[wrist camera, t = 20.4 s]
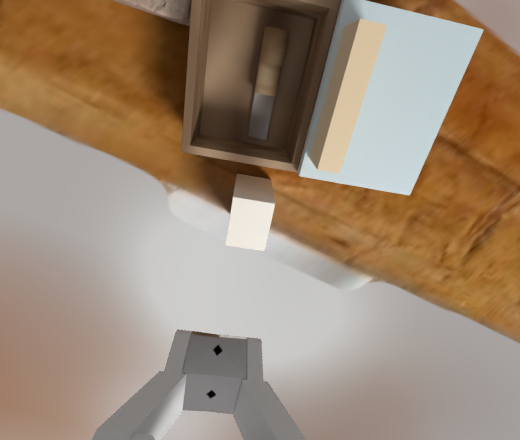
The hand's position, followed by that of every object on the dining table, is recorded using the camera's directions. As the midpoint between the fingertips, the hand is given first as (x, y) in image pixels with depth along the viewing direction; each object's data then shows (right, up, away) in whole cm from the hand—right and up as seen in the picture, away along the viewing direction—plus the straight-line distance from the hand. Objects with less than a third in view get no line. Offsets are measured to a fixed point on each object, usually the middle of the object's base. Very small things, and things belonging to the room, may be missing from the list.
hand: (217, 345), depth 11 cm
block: (0, +7, +29) cm, 30 cm away
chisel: (+2, +19, +22) cm, 29 cm away
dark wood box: (+1, +20, +22) cm, 30 cm away
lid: (+13, +15, +17) cm, 26 cm away
